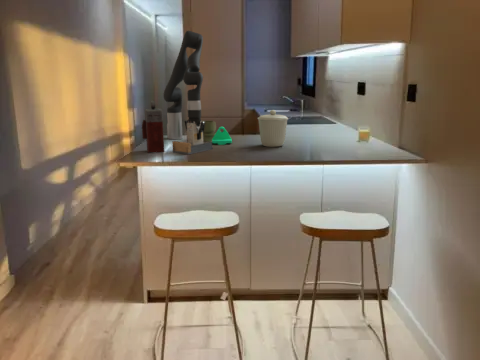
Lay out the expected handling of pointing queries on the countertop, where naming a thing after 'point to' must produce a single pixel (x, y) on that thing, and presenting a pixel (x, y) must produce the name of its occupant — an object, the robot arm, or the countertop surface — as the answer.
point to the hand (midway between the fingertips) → (195, 139)
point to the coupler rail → (198, 148)
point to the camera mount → (221, 137)
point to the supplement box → (193, 134)
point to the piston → (209, 130)
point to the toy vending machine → (153, 129)
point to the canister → (272, 129)
